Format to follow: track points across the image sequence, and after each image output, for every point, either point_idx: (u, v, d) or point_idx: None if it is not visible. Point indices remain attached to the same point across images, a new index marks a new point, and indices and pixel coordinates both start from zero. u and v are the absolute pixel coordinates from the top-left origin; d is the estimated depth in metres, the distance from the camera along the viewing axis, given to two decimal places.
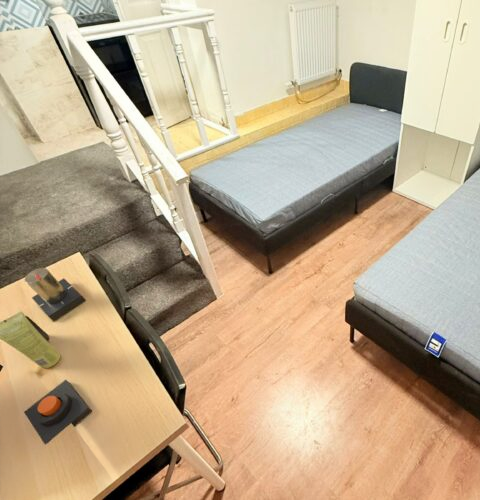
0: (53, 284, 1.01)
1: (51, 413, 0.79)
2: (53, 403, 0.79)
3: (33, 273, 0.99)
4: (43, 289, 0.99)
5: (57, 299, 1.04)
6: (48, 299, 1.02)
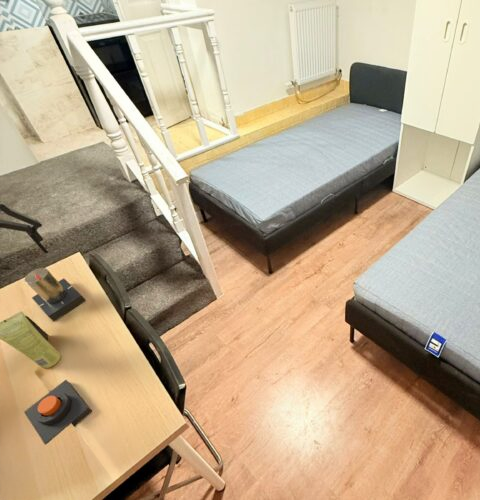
0: (53, 284, 1.01)
1: (51, 413, 0.79)
2: (53, 403, 0.79)
3: (33, 273, 0.99)
4: (43, 289, 0.99)
5: (57, 299, 1.04)
6: (48, 299, 1.02)
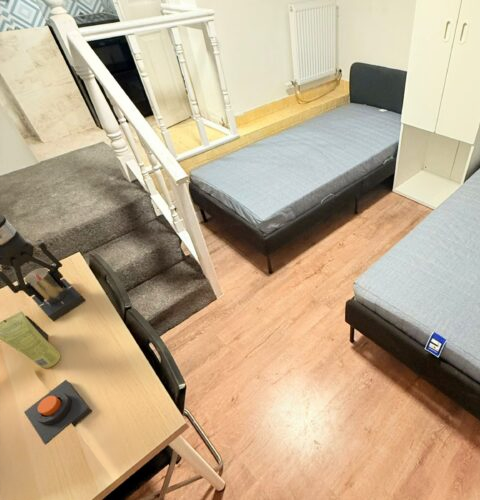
0: (53, 284, 1.01)
1: (51, 413, 0.79)
2: (53, 403, 0.79)
3: (33, 273, 0.99)
4: (43, 289, 0.99)
5: (57, 299, 1.04)
6: (48, 299, 1.02)
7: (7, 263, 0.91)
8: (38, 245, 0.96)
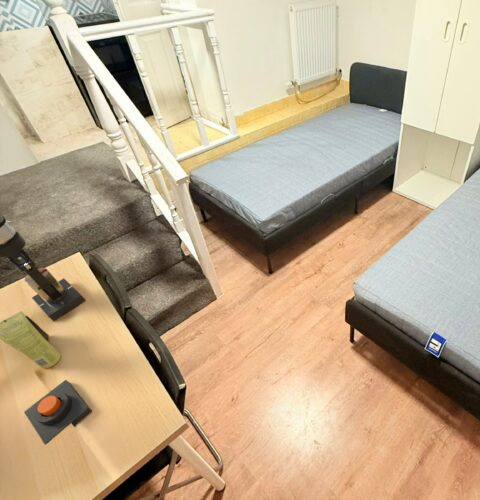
0: None
1: (51, 413, 0.79)
2: (53, 403, 0.79)
3: (31, 278, 0.98)
4: (54, 278, 1.02)
5: None
6: (62, 290, 1.05)
7: (25, 257, 0.92)
8: None
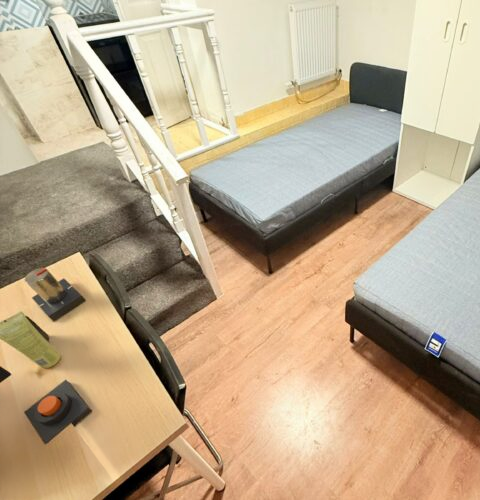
0: None
1: (51, 413, 0.79)
2: (53, 403, 0.79)
3: (31, 278, 0.98)
4: (54, 278, 1.02)
5: None
6: (62, 290, 1.05)
7: None
8: None
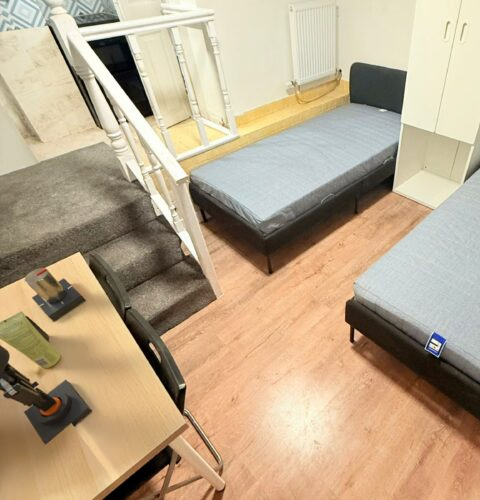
0: None
1: None
2: (55, 405, 0.80)
3: (31, 278, 0.98)
4: (54, 278, 1.02)
5: None
6: (62, 290, 1.05)
7: (10, 376, 0.67)
8: None
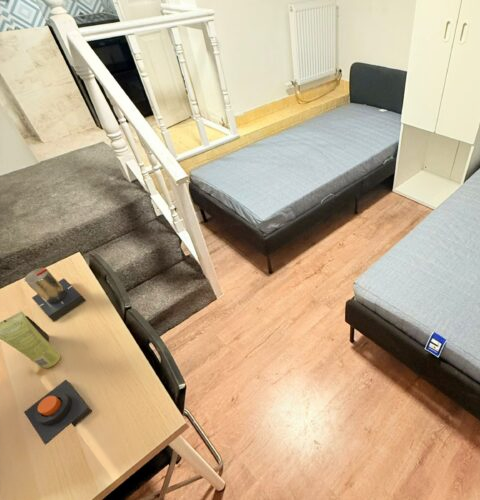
0: None
1: (51, 413, 0.79)
2: (53, 403, 0.79)
3: (31, 278, 0.98)
4: (54, 278, 1.02)
5: None
6: (62, 290, 1.05)
7: None
8: None
